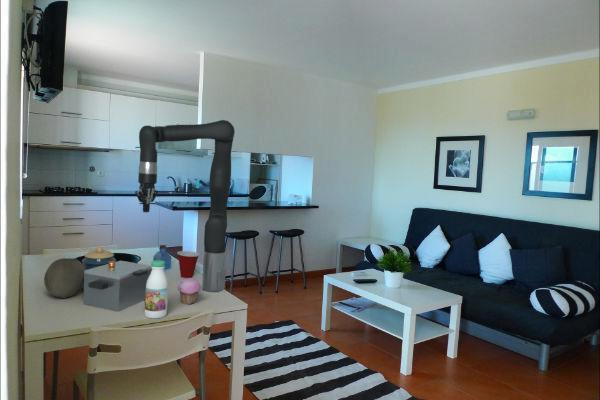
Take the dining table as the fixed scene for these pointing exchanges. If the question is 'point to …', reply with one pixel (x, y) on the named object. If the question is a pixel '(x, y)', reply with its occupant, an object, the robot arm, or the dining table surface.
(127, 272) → the box lid
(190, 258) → the plastic cup
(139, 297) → the grey storage box
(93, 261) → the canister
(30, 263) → the dining table surface
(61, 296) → the cantaloupe
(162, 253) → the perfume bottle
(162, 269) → the milk bottle
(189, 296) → the cupcake
